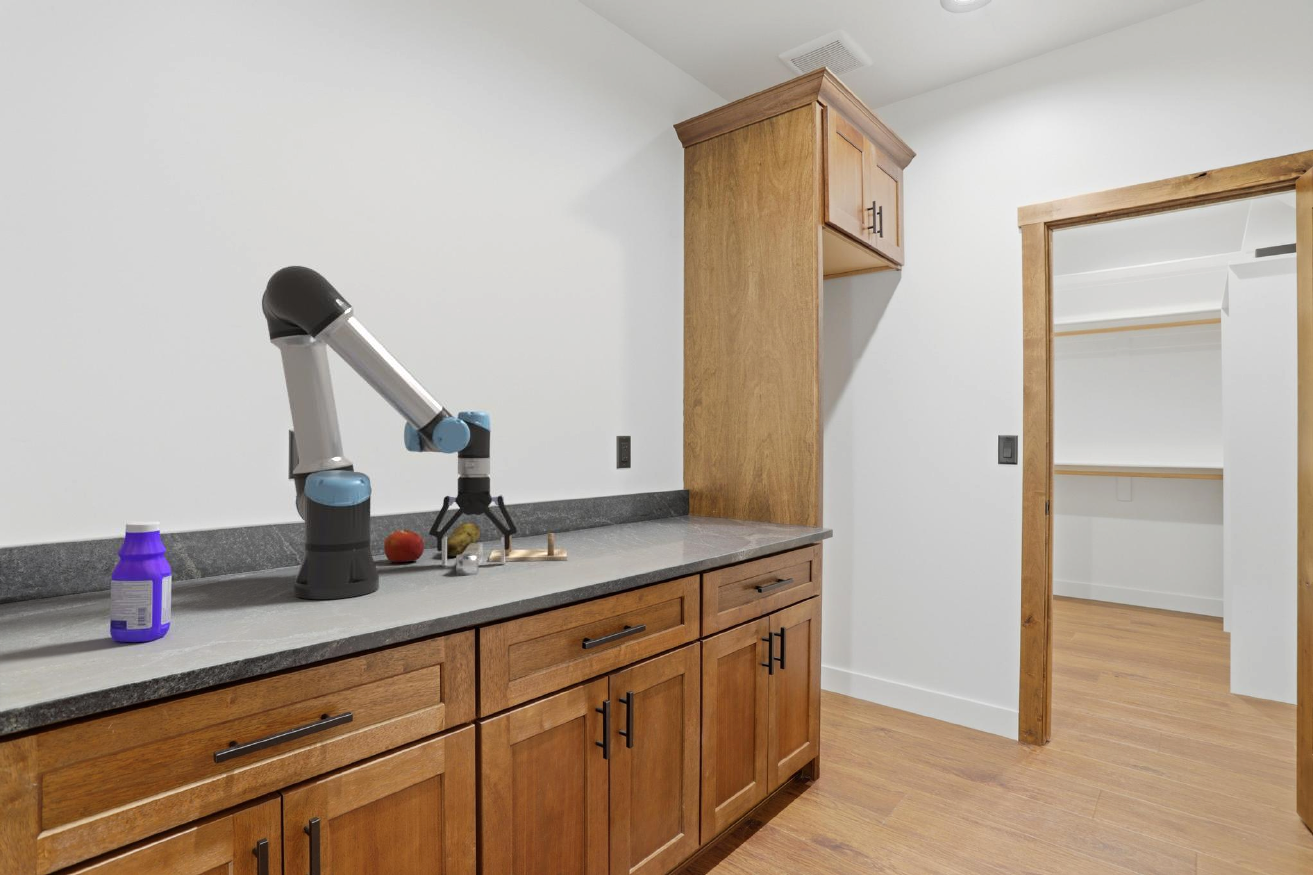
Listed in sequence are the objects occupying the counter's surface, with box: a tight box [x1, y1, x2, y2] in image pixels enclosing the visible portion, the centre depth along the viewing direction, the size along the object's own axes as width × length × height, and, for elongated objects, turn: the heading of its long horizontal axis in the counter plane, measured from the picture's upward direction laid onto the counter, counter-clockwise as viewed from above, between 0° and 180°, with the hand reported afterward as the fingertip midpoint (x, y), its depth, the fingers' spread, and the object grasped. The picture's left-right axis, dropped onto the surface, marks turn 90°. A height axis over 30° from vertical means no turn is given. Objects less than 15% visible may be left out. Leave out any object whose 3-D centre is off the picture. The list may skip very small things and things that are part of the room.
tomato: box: [383, 529, 425, 563], centre depth 163 cm, size 9×9×8 cm
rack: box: [488, 532, 568, 563], centre depth 170 cm, size 19×11×6 cm, turn 99°
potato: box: [447, 522, 481, 558], centre depth 173 cm, size 8×13×8 cm, turn 147°
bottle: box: [109, 520, 172, 643], centre depth 99 cm, size 7×6×17 cm
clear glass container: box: [455, 542, 484, 576], centre depth 157 cm, size 21×5×4 cm, turn 9°
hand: (473, 564), depth 159 cm, fingers open, 13 cm apart
